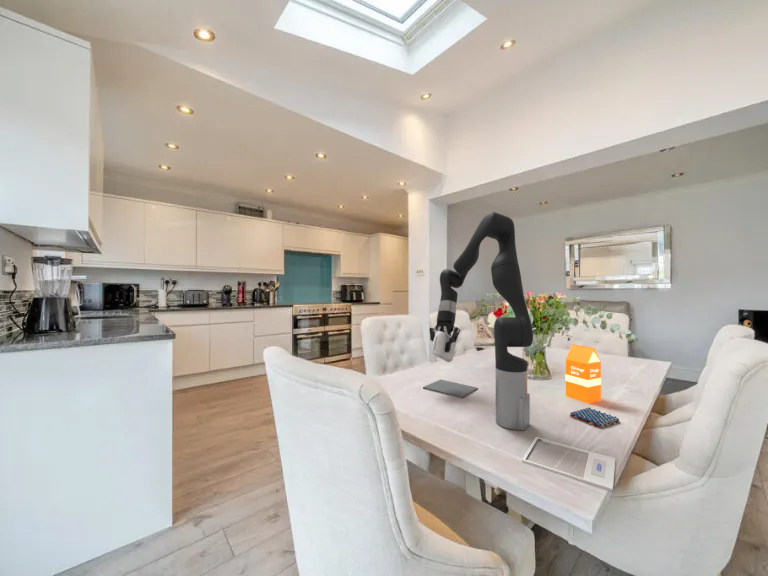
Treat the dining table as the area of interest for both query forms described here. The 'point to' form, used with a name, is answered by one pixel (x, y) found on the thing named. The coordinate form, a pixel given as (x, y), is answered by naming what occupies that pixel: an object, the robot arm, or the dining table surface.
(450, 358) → the photo printer
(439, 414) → the dining table surface
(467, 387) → the charcoal mat
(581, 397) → the orange juice
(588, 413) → the woven mat
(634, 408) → the dining table surface
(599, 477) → the photo frame
